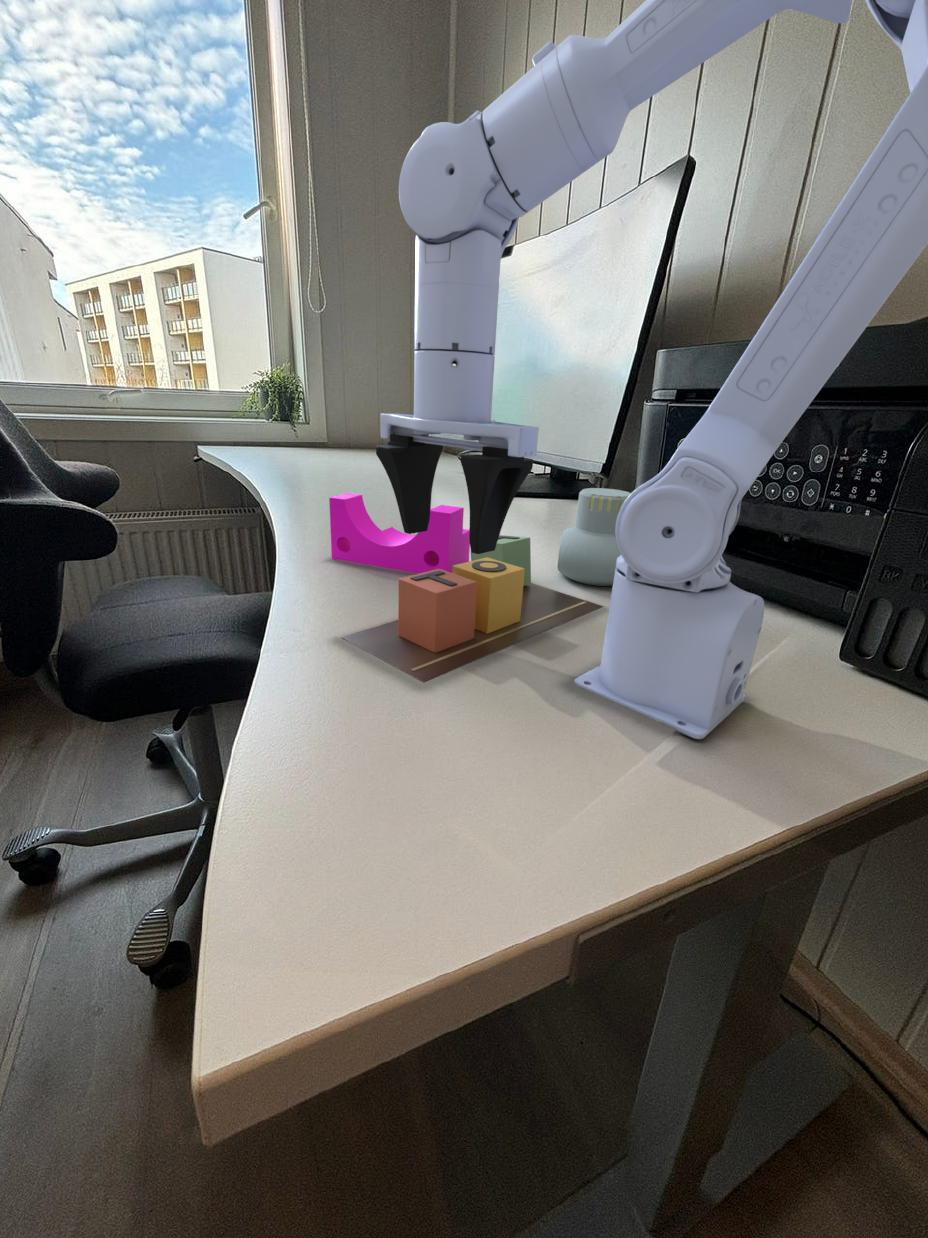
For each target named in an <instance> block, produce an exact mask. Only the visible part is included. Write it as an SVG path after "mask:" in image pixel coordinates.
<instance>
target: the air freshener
mask: <svg viewBox="0 0 928 1238" xmlns="http://www.w3.org/2000/svg"><path fill="white" fill-rule="evenodd" d="M631 493H632V492H629V491H625V490H621V489H616V488H615V489H614V488H606V487H605V488H603V487H589V488H583V489H581V490H580V491H579V492H578V499H577V507H576V514H575V522H574V525H573V526H570V527H568V528H566V529H564V530H563V532H562V535H561V539H560V545H559V551H558V557H557V571H558V572H559V573H560V574H562V575H563V576H565V577H566V578H568V579H570V580H572V581H574V582H577V583H579V584H580V583H581V584H585V585H588V586H589V585H590V586H597V587H610V586H611V587H613V582H614V575H615V569H616V561H617V558H618V557H619V556H620V555H621V553H620V551H619V549H618V546H617V542H616V535H615V526H616V520H617V516H618V513H619V511H620V508H621V506H622V505H623V503H624V501H625V500H626V498H627V497H628V496H629V495H630V494H631Z"/></svg>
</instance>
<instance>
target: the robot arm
mask: <svg viewBox="0 0 928 1238" xmlns="http://www.w3.org/2000/svg"><path fill="white" fill-rule="evenodd" d="M864 1H865V4H866V6H867V8H868V10H869V11H870V13H871V15H872V17H873V18H874V20H875V21H876V23H877V24H878V26H880V28H881V29H882V30H883V31H884V32H885V33H886V34H887V36H888V37H889V38H890V39H891V40H892V41H893V43H894V44H895V45H896V46H897V47H898V48H899V50H900V51H901V55H902V60H903V66H904V71H905V74H906V79H907V84H908V89H909V95H908V96H907V97H906V99H905V101H904V102H903V104H902V105H901V107H900V108H899V110H898V112H897V113H896V115H895V116H894V118H893V120H892V121H891V122H890V124H889V126H888V127H887V129H886V130H885V132H884V133H883V135H882V137H881V138H880V140H879V142H878V143H877V144H876V146H875V148H874V149H873V150H872V152H871V154H869V155H870V156H869V157H868V158H867V160H866V162H865V163H864V165H863V166H862V168H861V169H860V171H859V172H858V174H857V175H856V177H855V179H854V180H853V182H852V183H851V185H850V187H849V188H848V190H847V191H846V192H845V194H844V196H843V197H842V199H841V200H840V202H839V204H838V205H837V207H836V208H835V210H834V212H833V213H832V215H831V216H830V218H829V219H828V221H827V222H826V224H825V225H824V227H823V228H822V230H821V232H820V233H819V235H818V236H817V238H816V240H815V241H814V243H813V244H812V246H811V247H810V249H809V251H808V252H807V254H806V255H805V257H804V258H803V260H802V262H801V263H800V265H799V266H798V268H797V269H796V271H795V273H794V274H793V276H792V277H791V279H790V280H789V281H788V283H787V285H786V286H785V288H784V290H783V291H782V293H781V294H780V296H779V297H778V299H777V300H776V302H775V303H774V305H773V307H772V308H771V309H770V311H769V313H768V314H767V316H766V318H765V319H764V320H763V322H762V323H761V325H760V327H759V328H758V330H757V332H756V333H755V335H754V336H753V338H752V339H751V341H750V342H749V344H748V346H747V347H746V348H745V350H744V352H743V354H742V355H741V357H740V358H739V360H738V361H737V362H736V364H735V366H734V367H733V369H732V371H731V372H730V373H729V375H728V377H727V378H726V380H725V381H724V383H723V385H722V386H721V387H720V390H719V391H718V392H717V394H716V396H715V397H714V398H713V400H712V402H711V403H710V405H709V407H708V408H707V410H706V411H705V412H704V414H703V415H702V416H701V418H700V419H699V420H698V422H697V423H695V426H693V428H692V429H691V430H690V432H689V433H688V434H687V436H686V437H684V439H683V441H682V442H681V443H680V445H678V447H677V449H676V450H675V452H674V453H673V454H672V456H671V457H670V460H669V461H667V463H666V465H665V466H664V467H663V468H662V470H660V471H659V473H657V474H656V475H655V476H653V477H652V478H650V479H649V480H647V481H646V482H644V483H642V484H641V485H639V486H637V487H636V488H635V489H634V490H633V491H631V492H630V493H631V494H630V495H629V496H628V497H627V498H626V500H625V501H624V503H623V505H622V506H621V508H620V511H619V513H618V516H617V520H616V526H615V535H616V542H617V546H618V549H619V551H620V553H621V555H620V556H619V557H618V558H617V561H616V569H615V575H614V582H613V586H612V588H611V595H610V601H609V606H608V607H609V609H608V615H607V622H606V626H605V627H606V628H605V633H604V641H603V646H602V647H603V648H602V653H601V659H600V664H599V665H597V666H596V667H594V668H592V669H590V670H588V671H587V672H585V673H583V674H581V675H579V676H577V677H576V678H574V681H573V684H574V685H575V686H577V687H579V688H581V689H584V690H586V691H587V692H590V693H593V694H595V695H597V696H600V697H602V698H605V699H607V700H608V701H611V702H614V703H616V704H618V705H620V706H623V707H625V708H627V709H629V710H632V711H634V712H637V713H638V714H641V715H643V716H645V717H647V718H650V719H652V720H655V721H657V722H659V723H662V724H664V725H666V726H668V727H671V728H673V729H676V730H675V731H676V732H678V733H681V734H682V735H685V736H687V737H690V738H691V739H695V740H702V739H705V738H706V737H707V736H708V735H709V734H710V733H711V732H712V731H713V730H714V729H715V728H716V727H717V726H718V725H719V724H721V723H722V722H723V721H724V720H725V719H727V717H728V716H729V715H730V714H731V713H732V712H733V711H734V710H736V709H737V708H738V707H739V706H740V705H741V704H742V703H743V702H744V701H745V700H746V693H745V690H746V686H747V683H748V679H749V676H750V671H751V667H752V663H753V660H754V656H755V653H756V649H757V646H758V642H759V639H760V638H759V637H760V634H761V630H762V626H763V621H764V615H765V601H764V598H763V597H761V596H760V595H758V594H755V593H752V592H749V591H746V590H744V589H742V588H739V587H738V586H736V585H735V584H733V583H732V582H731V578H732V577H731V576H732V569H731V568H730V567H729V566H728V565H727V562H726V561H725V559H724V558H723V553H724V551H725V550H726V547H727V544H728V541H729V536H730V535H731V534H732V532H733V531H734V530H735V528H736V526H737V525H738V521H739V517H740V512H741V508H742V507H741V505H742V501H743V498H744V496H745V495H746V493H747V492H748V491H749V489H751V487H752V485H753V484H754V483H755V481H756V480H757V478H758V477H759V475H760V474H761V473H762V471H763V469H764V468H765V467H766V465H767V464H768V463H769V461H770V459H771V458H772V457H773V455H774V454H775V452H776V451H777V450H778V448H779V447H780V446H781V444H782V443H783V442H784V440H785V439H786V437H787V436H788V435H789V434H790V432H791V430H793V428H794V426H795V425H796V424H797V422H798V421H799V420H800V418H801V417H802V415H803V414H804V413H805V412H806V410H808V409H807V408H809V406H810V405H811V404H812V402H813V400H814V399H815V398H816V396H817V395H818V394H819V393H820V391H821V390H822V388H823V387H824V385H825V384H826V383H827V382H828V380H829V379H830V377H831V376H832V374H833V373H835V370H836V369H837V368H838V366H839V365H840V364H841V363H842V361H843V360H844V358H845V357H846V356H847V354H848V353H849V352H850V351H851V349H852V347H853V346H854V345H855V343H856V342H857V341H858V339H859V338H860V337H861V335H862V334H863V333H864V331H865V330H866V329H867V327H868V325H869V324H870V323H871V322H872V320H873V319H874V318H875V316H876V315H877V313H878V312H879V311H880V310H881V308H882V307H883V305H884V304H885V302H886V301H887V300H888V299H889V297H890V296H891V294H892V293H893V292H894V291H895V289H896V288H897V286H898V285H899V284H900V282H901V281H902V279H903V278H904V277H905V275H906V274H907V273H908V271H909V270H910V269H911V267H912V266H913V264H915V262H916V260H917V259H918V257H920V255H921V254H922V252H923V251H924V250H925V248H926V247H927V246H928V0H864ZM852 2H853V0H644V1H643V2H642V3H641V4H640V5H639V6H638V7H637V8H636V9H635V10H633V12H632V13H631V14H630V15H628V17H626V18H625V19H624V20H622V22H621V23H620V24H619V25H618V26H617V27H616V28H615V29H613V30H612V31H611V32H610V33H609V34H608V35H607V36H606V37H604V38H595V37H590V36H585V35H584V36H583V35H577V34H569V35H568V36H567V37H566V38H564V40H562V41H561V42H560V43H559V44H558V45H557V46H556V45H555V43H554V42H553V41H552V40H550V41H548V42H547V43H545V44H544V45H543V46H542V47H541V48H540V49H538V51H537V52H535V53H534V55H532V57H531V59H532V63H533V67H532V68H530V69H529V70H528V71H527V72H526V73H524V74H523V75H522V76H521V77H520V78H518V80H516V81H515V82H514V83H513V84H512V85H511V86H509V88H507V89H506V90H505V91H504V92H503V93H502V94H500V95H499V96H498V97H497V98H496V99H495V100H493V102H491V103H490V104H489V105H488V106H486V108H484V109H483V110H482V111H480V110H475V112H473V114H471V115H470V116H469V117H468V118H467V119H466V120H464V121H462V122H460V123H453V122H449V121H440V122H435V123H433V124H430V125H428V126H426V127H424V130H423V131H422V133H421V135H420V136H419V137H418V138H417V139H416V140H415V141H414V142H413V144H412V145H411V146H410V148H409V150H408V152H407V154H406V156H405V157H404V160H403V163H402V165H401V170H400V172H399V173H400V174H399V179H398V180H399V181H398V200H399V205H400V210H401V212H402V215H403V218H404V220H405V221H406V224H407V225H408V226H409V228H410V229H411V230H412V231H413V232H414V233H415V234H416V235H415V272H414V273H415V275H414V276H415V278H414V281H415V282H414V283H415V284H414V354H413V355H414V358H413V359H414V360H413V361H414V365H413V366H414V368H413V369H414V371H413V414H406V413H382V412H381V413H380V415H379V418H380V420H379V421H380V427H379V428H380V429H379V430H380V431H379V432H380V438H381V439H385V440H389V441H388V442H387V444H377V445H376V446H375V454H376V456H377V458H378V460H379V461H380V463H381V465H382V467H383V469H384V470H385V472H386V475H387V477H388V479H389V482H390V484H391V487H392V490H393V493H394V497H395V500H396V504H397V507H398V512H399V516H400V520H401V524H402V525H401V526H402V529H403V533H405V534H410V535H413V534H418V532H423V531H427V529H428V525H429V520H430V509H432V508H431V507H432V506H431V505H432V493H433V492H432V491H433V487H434V486H433V485H434V480H435V476H436V471H437V469H438V468H437V467H438V464H439V461H440V458H441V455H442V452H443V450H444V446H445V447H452V448H457V449H458V448H459V449H465V450H466V449H467V450H471V451H472V450H474V451H479V452H481V454H466V455H464V454H463V455H461V456H460V464H461V467H462V471H463V475H464V479H465V484H466V489H467V496H468V504H469V505H468V506H469V529H468V530H469V540H470V553H471V552H472V553H475V554H482V553H486V552H490V551H494V550H495V548H496V544H497V541H498V538H499V535H501V530H502V528H503V526H504V522H505V520H506V517H507V514H508V512H509V510H510V508H511V506H512V503H513V502H514V499H515V497H516V495H517V493H518V492H519V490H520V488H521V486H522V485H523V483H524V482H525V480H526V478H527V477H528V475H529V474H530V473H531V471H532V470H533V466H534V459H533V458H530V457H536V456H537V451H538V443H539V442H538V439H539V431H540V428H539V426H534V425H533V426H532V425H523V424H518V423H517V424H516V423H510V422H502V421H496V420H495V419H492V407H493V393H494V392H493V391H494V375H495V362H496V361H495V357H496V356H495V355H496V341H497V325H498V324H497V323H498V308H499V294H500V293H499V292H500V276H501V261H502V256H503V253H504V251H505V249H506V247H507V246H508V245H509V244H510V242H511V240H512V238H513V236H514V234H515V233H516V231H517V227H518V224H519V220H520V218H522V217H524V216H525V215H527V214H528V213H530V211H532V210H533V209H535V208H536V207H538V206H539V205H540V204H542V203H543V202H545V201H547V199H549V198H550V197H552V196H553V195H554V194H555V193H557V192H558V191H560V190H562V189H563V188H564V187H566V186H567V185H569V184H570V183H571V182H573V181H574V180H576V179H577V178H578V177H580V176H581V175H583V174H584V173H585V172H587V171H588V170H589V169H591V168H593V167H594V166H595V165H596V164H598V163H599V162H601V161H602V160H604V159H605V158H606V157H608V156H609V155H611V154H612V153H613V152H614V151H615V149H616V147H617V145H618V142H619V139H620V136H621V134H622V131H623V128H624V125H625V123H626V120H627V118H628V116H629V114H630V112H631V111H632V110H634V109H635V108H637V107H638V106H640V105H641V104H643V103H644V102H646V101H647V100H649V99H650V98H652V97H653V96H655V95H656V94H658V93H660V92H661V91H662V90H664V89H665V88H667V87H668V86H670V85H671V84H673V83H675V82H676V81H677V80H679V79H681V78H682V77H683V76H685V75H686V74H688V73H690V72H691V71H692V70H694V69H696V68H697V67H699V66H701V64H704V63H705V62H706V61H708V60H709V59H711V58H712V57H714V56H715V55H717V54H718V53H720V52H722V51H723V50H724V49H726V48H728V47H729V46H730V45H732V44H734V43H736V41H738V40H740V39H741V38H743V37H744V36H745V35H747V34H749V33H750V32H751V31H753V30H754V29H756V28H758V27H759V26H761V25H763V24H764V23H765V22H767V21H768V20H769V19H771V18H773V17H775V16H776V15H777V14H779V13H781V12H783V11H784V10H794V11H796V12H800V13H803V14H807V15H810V16H813V17H817V18H819V19H823V20H826V21H830V22H833V23H835V24H847V23H848V22H849V21H850V16H851V11H852V9H851V8H852ZM442 434H447V435H459V436H461V435H462V436H463V439H456V438H449V437H440V436H431V435H442ZM528 457H529V458H528Z"/></svg>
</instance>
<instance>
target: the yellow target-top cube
mask: <svg viewBox="0 0 928 1238" xmlns="http://www.w3.org/2000/svg"><path fill="white" fill-rule="evenodd" d="M452 573H453V574H456V575H459V576H462V577H465V578H468V579H470V580H473V581H476V582H477V598H476V614H475V629H477V630H479V631H481V632H484V633H486V634H488V633H491V632H493V631H496V630H499V629H501V628H504V627H506V626H509V625H512V624H514V623H517V622H519V621H520V616H521V605H522V595H523V584H524V573H525V569H524V568H521V567H518V566H514V565H511V564H508V563H504V562H501V561H498V560H494V559H491V558H488V557H486V558H482V559H478V560H474V561H471V560H469V562H466V563H462V564H457V565H453V570H452Z"/></svg>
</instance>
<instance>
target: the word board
mask: <svg viewBox="0 0 928 1238" xmlns="http://www.w3.org/2000/svg"><path fill="white" fill-rule="evenodd" d="M601 608H604V605H601V604H598V603H595V602H592V601H589V600H585V599H582V598H579V597H576V596H573V595H570V594H567V593H563V592H560V591H558V590H554V589H551V588H547V587H545V586H542V585H539V584H535V583H532V582H531V584H528V585H525V586H523V595H522V605H521V616H520V621H519V622H517V623H514V624H512V625H509V626H506V627H504V628H501V629H499V630H496V631H493V632H491V633H488V634H486V633H484V632H481V631H479V630H477V629H475V631H474V639H471V640H468V641H466V642H463V643H461V644H458V645H455V646H453V647H450V648H447V649H445V650H442V651H440V652H437V653H434V652H431V651H429V650H427V649H425V648H423V647H421V646H419V645H417V644H415V643H413V642H411V641H409V640H407V639H405V638H403V637H401V636H399V635H398V619H397V620H393V621H390V622H386V623H383V624H379V625H377V626H374V627H371V628H368V629H363V630H361V631H358V632H354V633H351V634H348V635H344V636H342V637H341V639H342V640H344V641H346V642H348V643H350V644H352V645H353V646H356V647H358V648H359V649H361V650H362V651H364V652H366V653H368V654H369V655H372V656H374V657H375V658H378V659H379V660H381V661H383V662H384V663H387V664H388V665H390V666H392V667H394V668H396V669H398V670H400V671H401V672H403V673H405V674H407V675H409V676H411V677H412V678H414V679H416V680H418V681H420V682H422V683H426V682H429V681H430V680H434V679H436V678H438V677H440V676H442V675H445V674H448V673H449V672H452V671H455V670H457V669H460V668H461V667H464V666H466V665H468V664H471V663H473V662H476V661H478V660H481V659H483V658H486V657H488V656H490V655H493V654H495V653H498V652H499V651H502V650H504V649H506V648H509V647H512V646H514V645H516V644H518V643H521V642H524V641H525V640H528V639H531V638H533V637H535V636H538V635H540V634H541V633H544V632H547V631H549V630H552V629H554V628H556V627H559V626H561V625H563V624H566V623H568V622H570V621H574V620H575V619H578V618H581V617H583V616H585V615H587V614H590V613H592V612H595V611H597V610H599V609H601Z"/></svg>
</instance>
